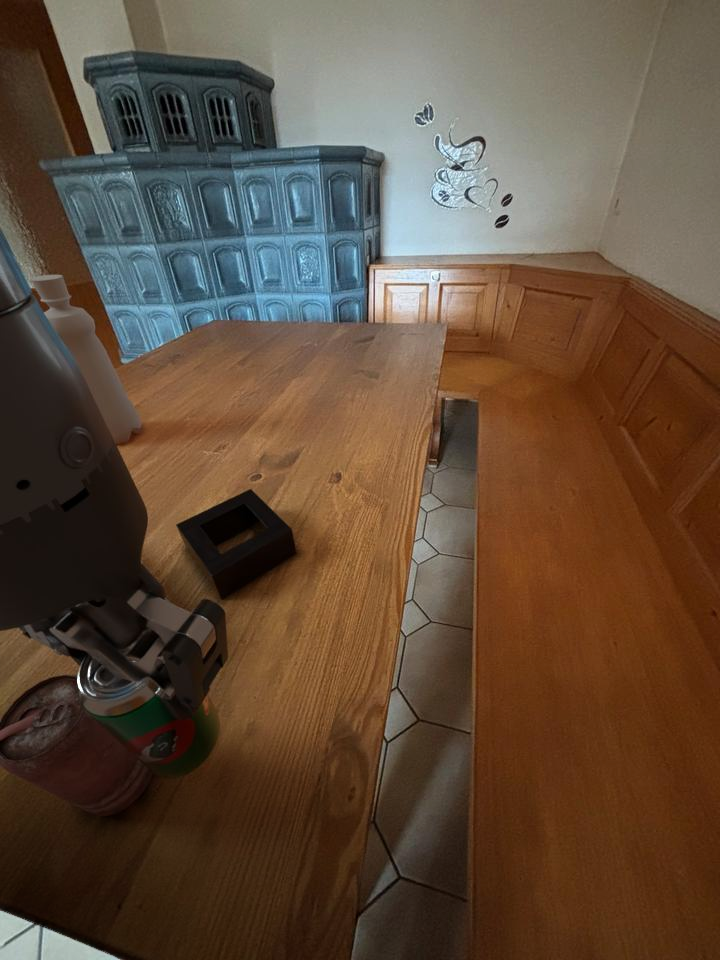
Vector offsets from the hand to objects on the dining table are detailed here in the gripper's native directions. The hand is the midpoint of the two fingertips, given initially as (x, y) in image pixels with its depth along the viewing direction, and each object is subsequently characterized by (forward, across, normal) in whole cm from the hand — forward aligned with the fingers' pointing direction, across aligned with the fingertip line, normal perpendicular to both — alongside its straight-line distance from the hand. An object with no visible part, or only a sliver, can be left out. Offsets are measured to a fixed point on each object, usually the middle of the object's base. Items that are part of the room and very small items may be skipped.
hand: (153, 684), depth 23 cm
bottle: (+19, -55, +43) cm, 72 cm away
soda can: (+8, 0, 0) cm, 8 cm away
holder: (+19, -13, +24) cm, 33 cm away
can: (+19, -9, -3) cm, 21 cm away
